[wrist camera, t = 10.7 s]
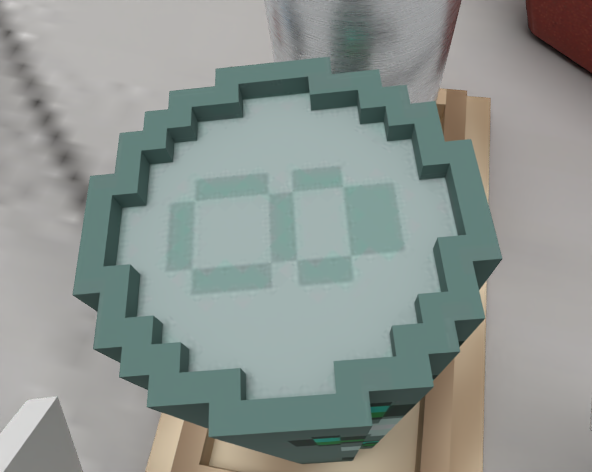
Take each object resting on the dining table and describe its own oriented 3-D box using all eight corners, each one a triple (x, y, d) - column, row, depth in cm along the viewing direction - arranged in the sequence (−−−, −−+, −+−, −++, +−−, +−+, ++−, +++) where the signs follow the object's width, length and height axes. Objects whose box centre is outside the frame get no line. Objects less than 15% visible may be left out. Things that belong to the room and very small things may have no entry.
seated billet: (284, 225, 24) (212, -87, 11) (306, 126, 27) (267, -227, 13) (409, 240, 23) (499, -80, 10) (419, 137, 26) (502, -231, 12)
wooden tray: (145, 506, 21) (119, 510, 18) (258, 93, 30) (250, 59, 27) (472, 579, 19) (491, 594, 16) (484, 112, 28) (498, 77, 25)
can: (404, 457, 19) (542, 414, 6) (250, 467, 20) (49, 447, 6) (383, 307, 22) (446, 43, 9) (248, 318, 22) (104, 81, 9)
